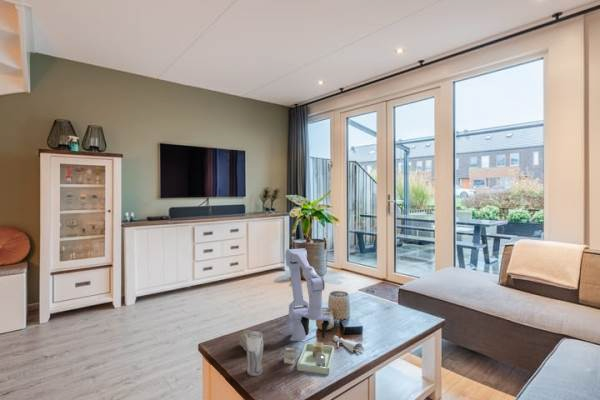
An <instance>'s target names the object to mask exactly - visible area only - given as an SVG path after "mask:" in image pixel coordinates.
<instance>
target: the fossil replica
mask: <svg viewBox="0 0 600 400" xmlns="http://www.w3.org/2000/svg"><path fill="white" fill-rule="evenodd" d="M250 332H254V331H252V330H249V329H245V330H244V331H243V332H242V333H241V334H240V336H239V345H240V347H242V348H243V350H244V351H245V352H246V338H247V334H248V333H250Z"/></svg>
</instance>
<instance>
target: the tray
mask: <svg viewBox="0 0 600 400" xmlns="http://www.w3.org/2000/svg"><path fill="white" fill-rule="evenodd" d="M313 345H314V343H312V342H311V343H309V342H305V345H304V347H303V349H302V351H301V354H300V356H299V358H298V360H297V363H296V371H300V372H306V373H314V374H322V375H328V376H329V375H330V372H331V371H330V370H331V368H332V364H333V359H334V355H335V346H334V345H325V344H323V354H324V355H325V367H321V366H315V358H313Z"/></svg>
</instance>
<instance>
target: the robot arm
mask: <svg viewBox="0 0 600 400" xmlns="http://www.w3.org/2000/svg"><path fill="white" fill-rule="evenodd" d="M307 252H308V251H307V249H306V248H305V247H303V248H291V249H290V248H288V249H286V251H285V263H286V266H287V267H289V271H290V280H291V288H292V289H291V290H292V297H293V300H292V301H291V303H289V305H288V318H289V319H290V321H291V323H292V325H291V333H292V335H291V336H290V338H289V341H290V342H291V341H292V342H300V343H307V341H308V338H309V336H310V332H309V330H310V328H309V327H310V324H309V323H310V321H321V331H322V332H321V338H322V339H325V337H326V334H327V333H326V332H327V330H328V327H329V325H330V324H331V323H332V322H333V316H329V315H327V314H323V291H324V290H325V286H326V285H325V280H324V278H323V277H322V276H320V275H318V274H317V272H316V270H315V268H314V266H311V265H310V264H309V261H308V253H307ZM300 268H301V269H302V276H303V277H304V279H305V281H306V288H307V295H308V302H307V301H306V300H305V299H304V296H303V295H304V293H303V285H302V280H301V269H300Z"/></svg>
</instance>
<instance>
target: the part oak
mask: <svg viewBox="0 0 600 400" xmlns="http://www.w3.org/2000/svg"><path fill="white" fill-rule="evenodd" d="M313 344H314V345H313V358H315V356H316V355H317V354H323V345H324V342H318V341H314V343H313Z"/></svg>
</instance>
